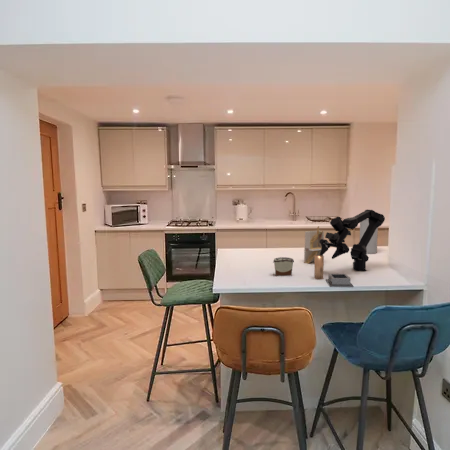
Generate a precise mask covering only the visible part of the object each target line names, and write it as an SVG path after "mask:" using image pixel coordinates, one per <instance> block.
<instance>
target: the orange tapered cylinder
mask: <svg viewBox="0 0 450 450" xmlns="http://www.w3.org/2000/svg"><path fill="white" fill-rule="evenodd" d="M324 258H325V256H324V254H323V255H315V262H314V268H313V269H314V273H313V274H314V277H313V278H314V279H315V280H323V279H324V265H325V264H324V260H325V259H324Z"/></svg>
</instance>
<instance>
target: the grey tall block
mask: <svg viewBox="0 0 450 450" xmlns="http://www.w3.org/2000/svg"><path fill="white" fill-rule="evenodd" d="M368 220H369V219H368V218H367V219H366V220H364V221H362V222H360V223H359V242H360V240H361V238H362V236H363V234H364V233H365V231H366V229H367V227H368V225H369V221H368ZM378 231H379V227H378V228H377V229H376V230H375V232H374V234H373V236H372V238H371V239H370V241H369V243H368V245H367V247H366V250H367V252H366V254H367V255H369V254H370V255H373V254H374V255H375V254H376V253H377V252H378V233H379V232H378ZM359 242H358V243H359Z"/></svg>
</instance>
